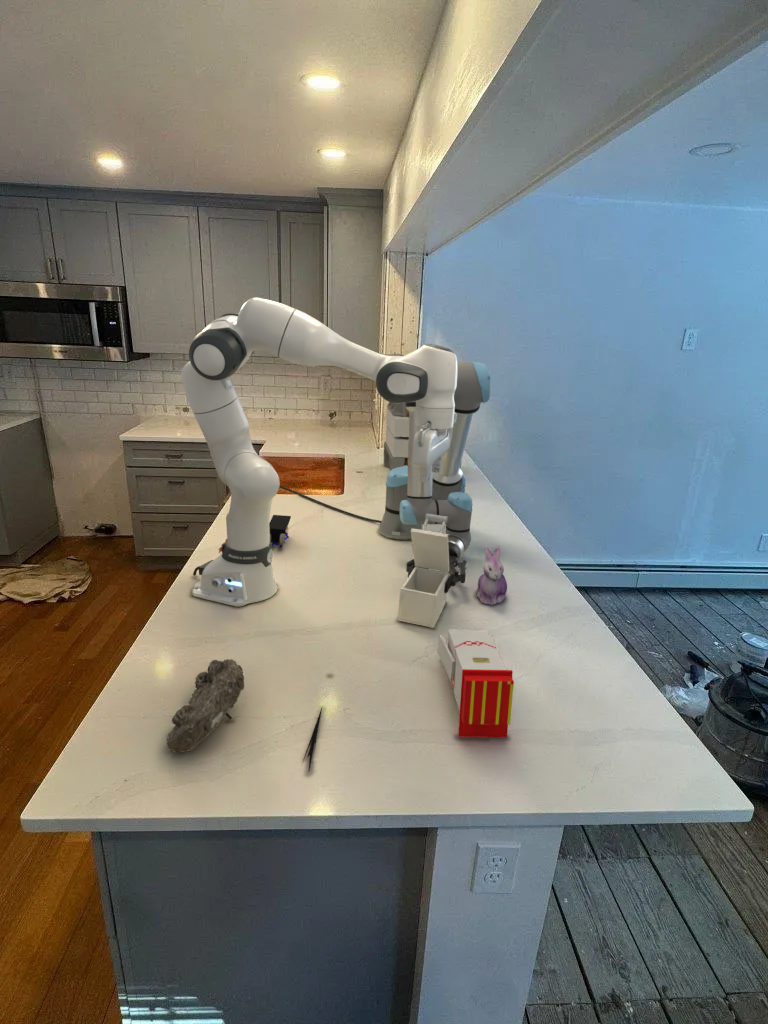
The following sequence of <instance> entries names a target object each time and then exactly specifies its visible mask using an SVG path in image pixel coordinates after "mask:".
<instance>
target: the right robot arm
mask: <svg viewBox="0 0 768 1024" xmlns="http://www.w3.org/2000/svg"><path fill="white" fill-rule="evenodd" d="M491 393H492V381H491V374H490V370H489V368H488V366H487V365H486V364H485V363H483V362H476V361H457V387H456V390H455V393H454V402H455V410H454V412H455V413H456V421H455V422H454V424H453V431H452V438H451V443H450V447H449V449H448V451H446V452H445V453H444V454H443V458H442V461H441V465H440V471H439V472H438V473H435V472H432V471H431V470H432V465H433V463H432V464H430V465H429V481H428V482H427V483H422V482H420V472H419V467H417V466H413V464H412V453H413V444H414V438H415V434H416V433H417V432H418V431H419V430H420V427H417V426H415V411H416V401H411V402H406V409H407V410H408V411H409V439H408V466H407V465H404V466H402V467H397V468H394V469H392V470H391V471H390V470H388V473H387V475H386V480H385V481H386V482H385V504H384V505H385V507H384V508H385V509H384V513H383V515H382V519H381V520H379V519H375V518H374V519H373V518H368V517H365V516H362V515H358V514H355V513H352V512H348V511H346V510H343V509H341V508H338V507H336V506H332V505H330V504H327V503H325V502H322V501H319V500H317V499H315V498H313V497H310V496H308V495H305V494H303V493H300V492H298V491H297V490H293V489H290V488H288V487H285V486H283V485H279V489H282V490H285V491H288V492H290V493H293V494H295V495H298V496H300V497H303V498H305V499H307V500H310V501H312V502H314V503H316V504H319V505H322V506H323V507H327V508H330V509H331V510H334V511H337V512H340V513H343V514H345V515H349V516H352V517H354V518H356V519H357V518H358V519H361V520H365V521H368V522H371V523H372V522H373V523H377V524H378V523H379V526H378V533H379V534H380V535H381V536H382V537H385V538H387V539H389V540H395V541H410V540H411V541H412V538H411V529H412V528H413V529H419V530H422V528H423V525H424V522H425V516H426V514H433V515H440V516H446V517H448V521H447V523H446V524H445V532H444V534H448V546H449V572H446V573H449V576H448V579H447V581H446V583H445V589H444V593H447V594H448V593H449V591H450V589H451V587H456V585H457V584H458V583H461V584H465V583H466V575H467V574H466V570H467V566H468V561H467V560H466V559H465V560H462V561H460V560H461V558H462V556H463V555H464V553H465V552H466V551H467V549H469V546H470V545H471V541H472V533H471V523H472V513H473V497H472V496H471V495H470V494H468V493H466V486H467V484H466V477H465V474H464V473H463V470H462V468H461V469H460V464H461V465H462V462H461V460H462V459H463V455H464V451H465V448H466V443H467V441H468V435H469V433H470V427H471V424H472V419H473V415H474V414H476V413H477V412H478V411H479V410H480V407H481V404H485V403H488V402H489V400H490V399H491V398H490V397H491ZM462 461H463V460H462ZM429 525H442V523H440V522H433V521H428V523H427V526H429ZM415 567H417V566H415V563H414V558H412V559H411V560H409V561H406V567H405V572H406V573H407V578H408V577H409V575H410V574H411V572H412V571H413V569H414V568H415ZM456 567H458V570H459V571H458V570H457V569H456ZM419 568H422V567H419ZM424 569H427V568H424ZM430 570H433V569H430Z"/></svg>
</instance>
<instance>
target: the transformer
mask: <svg viewBox="0 0 768 1024" xmlns="http://www.w3.org/2000/svg"><path fill="white" fill-rule="evenodd" d="M385 414H386V415H385V423H386V428H385V438H384V442H383V466H384V467H388V468H389V471H391V470H392V469H394V468H397V467H402V466H408V439H409V411H408V410H407V409H406V402H404V403H391V402H389V401H388V404H387V405H386V413H385ZM462 461H463V460H461V464H460V469H461V470H462Z"/></svg>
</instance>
